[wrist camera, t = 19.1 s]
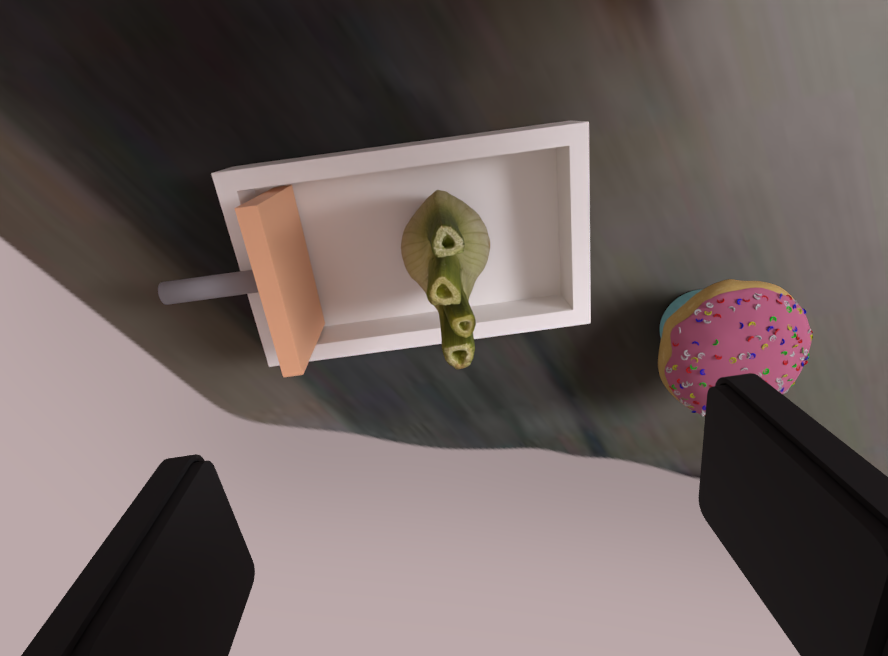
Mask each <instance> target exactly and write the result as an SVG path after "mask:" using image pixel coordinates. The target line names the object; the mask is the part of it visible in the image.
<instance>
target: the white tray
mask: <svg viewBox="0 0 888 656" xmlns="http://www.w3.org/2000/svg"><path fill="white" fill-rule="evenodd" d="M211 175H212V178H213V181H214V185H215V188H216V191H217V195H218V198H219V201H220V205H221V208H222V211H223V215H224V218H225V221H226V225H227V228H228V231H229V235H230V238H231V241H232V245H233V248H234V251H235V255H236V258H237V262H238V265H239V268H240V271H247V270H252V267H251V264H250V261H249V257H248V254H247V250H246V247H245V243H244V240H243V236H242V233H241V229H240V226H239V223H238V219H237V216H236V212H235V209H234V208H236V207H238V206H240V205H242V204H244V203H245V202H247V201H249V200H251V199H253V198H255V197H257V196H259V195H260V194H262V193H264V192H266V191H268V190H270V189H272V188H273V187H279V186H287V185H292V187H293V191H294V196H295V200H296V204H297V208H298V212H299V216H300V221H301V225H302V229H303V233H304V237H305V241H306V246H307V250H308V254H309V258H310V262H311V267H312V271H313V275H314V279H315V283H316V287H317V292H318V296H319V300H320V304H321V308H322V312H323V317H324V321H325V325H324V327H323V330H322V332H321V334H320V337H319V339H318V341H317V344H316V346H315V348H314V351H313V353H312V355H311V358H310V360H309V361H316V360H323V359H331V358H338V357H346V356H353V355H360V354H368V353H375V352H383V351H390V350H397V349H405V348H412V347H420V346H427V345H434V344H442V343H441V341H442V339H441V328H440V319H439V313H438V311H437V309H436V308H435V307H434V305H432V304H431V303H430V302H429V301H428V299H427V295H426V293H425V292H424V290H423V289H422V288H421V287H420V286H419V284H418V283H417V282H416V281H415V280H413V279H412V278H411V276H410V275H409V273H408V272H407V270H406V268H405V265H404V261H403V259H402V254H401V241H402V236H403V232H404V229H405V227H406V225H407V224H408V222H409V221H410V219H411V217H412V216H413V215H414V214H415V212H416V210H417V209H418V208H419V207H420V206H421V205H422V204H423V203H424V201H425V200H426V199H427V198H428V197H429V196H430V195H432V194H433V193H434V192H435V191H436V190H442V191H446V192H448V193H449V194H451V195H453V196H455V197H456V198H458V199H460V200H462V201H463V202H464V203H466V204H467V205H468V206H470V207H471V208H472V209H473V210H475V211H476V212H477V214H479V216H480V217H481V219H482V221H483V222H484V224H485V226H486V228H487V231H488V236H489V238H490V252H489V256H488V261H487V264H486V266H485V268H484V270H483V271H482V273H481V274H480V275H479V276H478V278H477V279H476V281H475V284H474V287H473V290H472V292H471V294H470V297H469V305H470V307H471V309H472V311H473V314H474V316H475V319H476V325H475V329H474V331H473V336H474V339H479V338H486V337H494V336H501V335H508V334H516V333H523V332H531V331H538V330H545V329H553V328H560V327H568V326H575V325H582V324H590V323H591V303H590V188H589V122H586V121H570V120H569V121H562V122H555V123H547V124H540V125H533V126H525V127H518V128H511V129H503V130H496V131H489V132H481V133H474V134H467V135H459V136H452V137H445V138H437V139H430V140H423V141H415V142H408V143H401V144H393V145H386V146H379V147H371V148H364V149H357V150H349V151H342V152H335V153H327V154H320V155H313V156H305V157H298V158H291V159H283V160H276V161H269V162H262V163H254V164H247V165H240V166H233V167H230V168H227V169H223V170H220V171H217V172H214V173H211ZM247 295H248V298H249V302H250V305H251V308H252V312H253V315H254V318H255V322H256V325H257V328H258V332H259V335H260V338H261V342H262V345H263V348H264V352H265V355H266V358H267V362H268V365H269V367H272V366H279V365H280V364H279V361H278V357H277V354H276V350H275V347H274V343H273V340H272V337H271V333H270V330H269V326H268V323H267V319H266V316H265V312H264V309H263V305H262V302H261V299H260V295H259V292H257V293H249V294H247Z"/></svg>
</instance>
